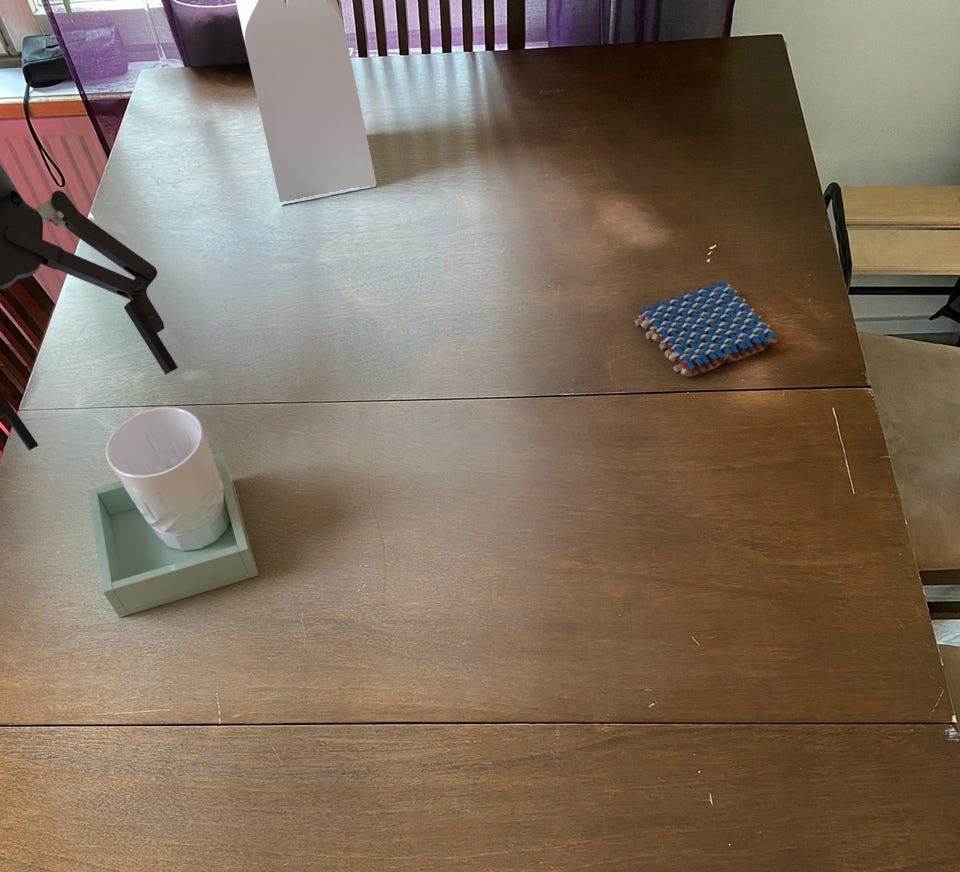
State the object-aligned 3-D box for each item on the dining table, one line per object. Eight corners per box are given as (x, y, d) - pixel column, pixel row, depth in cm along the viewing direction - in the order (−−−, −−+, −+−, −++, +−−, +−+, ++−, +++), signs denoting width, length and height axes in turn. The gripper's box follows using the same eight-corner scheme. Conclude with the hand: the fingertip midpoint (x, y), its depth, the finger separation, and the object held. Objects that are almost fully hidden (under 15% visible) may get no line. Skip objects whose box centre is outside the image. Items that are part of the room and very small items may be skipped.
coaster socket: (119, 618, 84) (102, 592, 81) (102, 517, 91) (87, 490, 88) (259, 575, 86) (248, 548, 83) (233, 479, 92) (222, 451, 89)
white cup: (165, 488, 91) (123, 405, 83) (248, 490, 90) (213, 407, 82) (139, 555, 87) (92, 475, 79) (225, 558, 86) (186, 478, 78)
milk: (377, 187, 118) (335, -66, 97) (280, 206, 117) (217, -45, 96) (360, 135, 125) (318, -112, 103) (269, 152, 124) (208, -92, 102)
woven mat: (721, 290, 103) (724, 273, 101) (779, 351, 97) (783, 334, 95) (631, 321, 101) (632, 304, 99) (684, 385, 95) (686, 368, 94)
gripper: (82, 121, 87) (216, 346, 94) (-199, 248, 79) (-28, 482, 87) (91, 90, 80) (235, 335, 88) (-214, 226, 73) (-28, 482, 80)
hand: (104, 409), depth 87 cm, fingers open, 13 cm apart
